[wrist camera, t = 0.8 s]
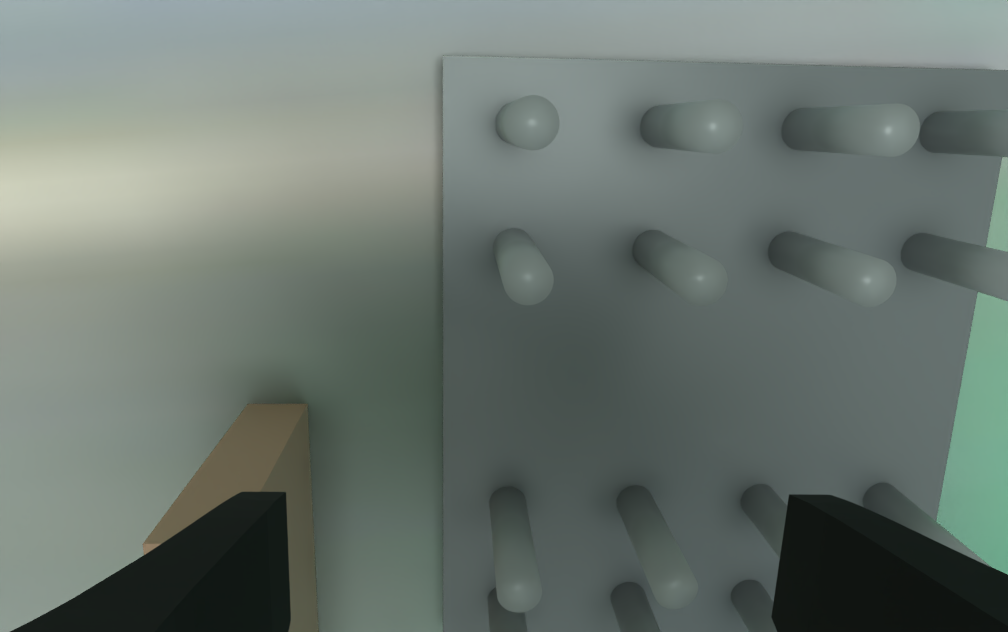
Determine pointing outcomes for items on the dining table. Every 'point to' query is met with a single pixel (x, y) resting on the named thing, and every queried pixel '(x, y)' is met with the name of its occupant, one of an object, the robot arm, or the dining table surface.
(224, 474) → the tall tan block
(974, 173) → the dish rack
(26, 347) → the dining table surface
